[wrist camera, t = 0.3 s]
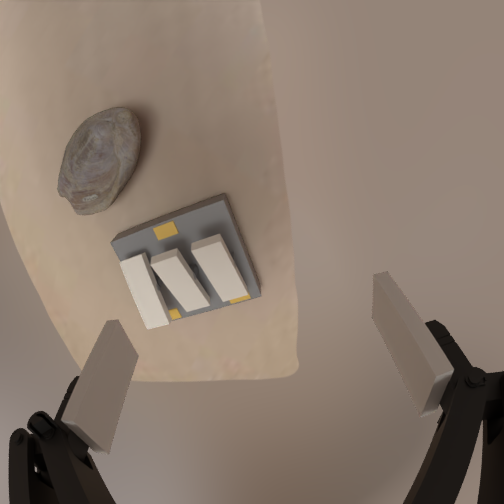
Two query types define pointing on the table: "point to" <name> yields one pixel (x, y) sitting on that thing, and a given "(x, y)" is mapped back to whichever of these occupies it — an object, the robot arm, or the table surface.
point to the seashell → (100, 160)
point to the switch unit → (182, 236)
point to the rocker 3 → (219, 267)
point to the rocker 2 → (180, 280)
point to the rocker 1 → (145, 291)
